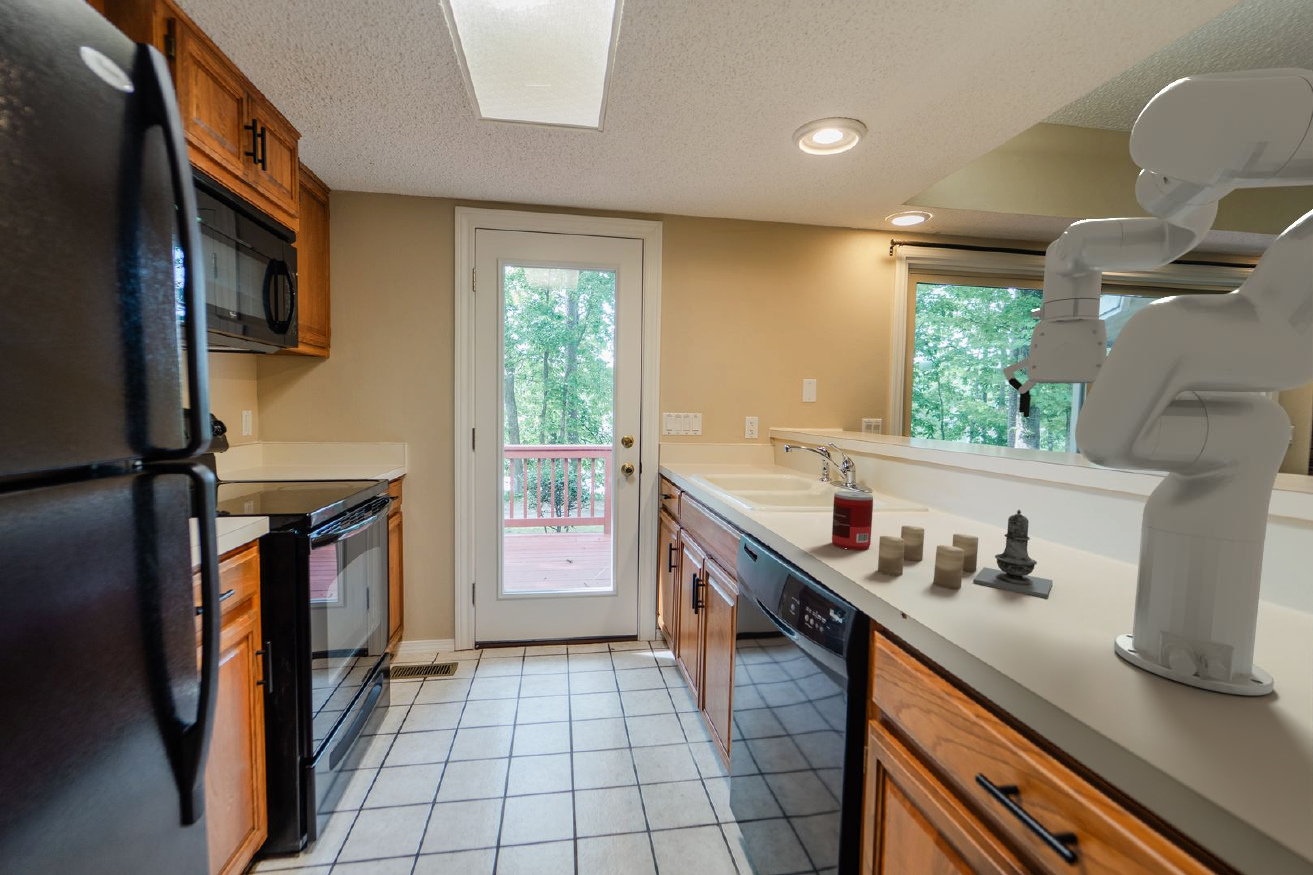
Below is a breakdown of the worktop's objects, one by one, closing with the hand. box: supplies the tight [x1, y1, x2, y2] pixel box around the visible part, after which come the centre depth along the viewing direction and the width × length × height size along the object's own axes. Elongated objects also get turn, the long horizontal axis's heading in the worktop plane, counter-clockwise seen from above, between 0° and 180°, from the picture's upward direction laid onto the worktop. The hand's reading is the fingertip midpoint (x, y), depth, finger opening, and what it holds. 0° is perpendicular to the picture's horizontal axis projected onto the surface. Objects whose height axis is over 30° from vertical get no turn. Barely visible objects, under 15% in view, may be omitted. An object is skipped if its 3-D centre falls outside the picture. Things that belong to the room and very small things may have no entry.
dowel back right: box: [951, 533, 979, 573], centre depth 96 cm, size 4×4×6 cm
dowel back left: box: [900, 525, 925, 562], centre depth 102 cm, size 4×4×6 cm
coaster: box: [972, 566, 1053, 599], centre depth 88 cm, size 10×10×1 cm
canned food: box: [831, 490, 874, 551], centre depth 110 cm, size 8×8×11 cm
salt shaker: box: [994, 509, 1038, 585], centre depth 88 cm, size 6×6×12 cm
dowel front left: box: [877, 535, 905, 577], centre depth 92 cm, size 4×4×6 cm
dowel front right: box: [933, 544, 965, 590], centre depth 86 cm, size 4×4×6 cm
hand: (1061, 418), depth 87 cm, fingers open, 9 cm apart
